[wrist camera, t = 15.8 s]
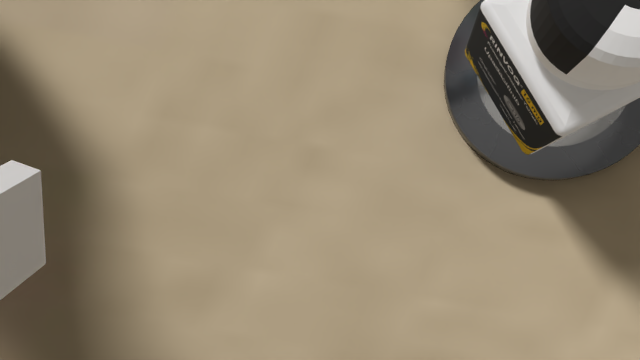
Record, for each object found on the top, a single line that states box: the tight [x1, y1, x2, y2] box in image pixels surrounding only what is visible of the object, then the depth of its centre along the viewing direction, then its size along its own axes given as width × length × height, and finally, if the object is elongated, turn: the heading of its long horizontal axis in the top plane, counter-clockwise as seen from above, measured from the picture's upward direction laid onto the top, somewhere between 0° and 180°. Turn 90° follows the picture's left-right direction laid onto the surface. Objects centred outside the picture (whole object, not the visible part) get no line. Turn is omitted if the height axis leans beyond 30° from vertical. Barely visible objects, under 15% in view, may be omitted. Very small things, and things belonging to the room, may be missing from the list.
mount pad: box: [444, 0, 640, 180], centre depth 30 cm, size 12×12×1 cm
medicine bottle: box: [465, 0, 640, 155], centre depth 24 cm, size 7×7×12 cm
